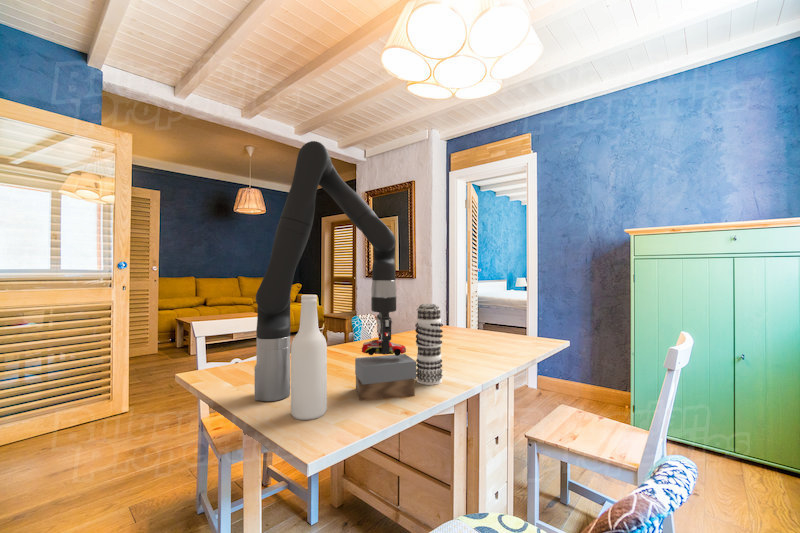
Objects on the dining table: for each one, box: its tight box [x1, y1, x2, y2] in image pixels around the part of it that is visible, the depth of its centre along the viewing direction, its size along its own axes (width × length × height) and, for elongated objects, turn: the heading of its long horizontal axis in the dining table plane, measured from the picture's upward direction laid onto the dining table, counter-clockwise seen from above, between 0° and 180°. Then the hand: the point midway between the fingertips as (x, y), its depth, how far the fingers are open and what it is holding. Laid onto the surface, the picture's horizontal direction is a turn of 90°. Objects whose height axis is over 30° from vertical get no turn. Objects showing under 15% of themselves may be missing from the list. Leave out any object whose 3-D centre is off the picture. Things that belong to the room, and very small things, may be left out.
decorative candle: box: [414, 303, 444, 386], centre depth 116 cm, size 9×9×25 cm
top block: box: [354, 353, 417, 385], centre depth 105 cm, size 16×10×5 cm, turn 109°
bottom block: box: [355, 375, 416, 401], centre depth 105 cm, size 16×10×5 cm, turn 102°
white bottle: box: [290, 294, 328, 421], centre depth 89 cm, size 9×9×30 cm
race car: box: [361, 339, 407, 356], centre depth 105 cm, size 13×5×4 cm, turn 85°
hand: (383, 351), depth 105 cm, fingers closed on race car, 6 cm apart
